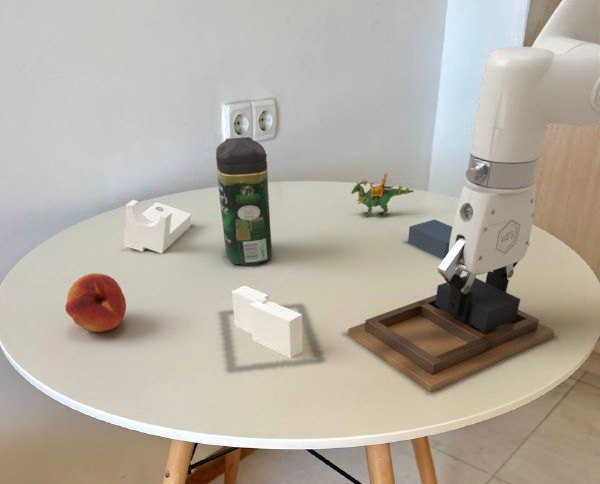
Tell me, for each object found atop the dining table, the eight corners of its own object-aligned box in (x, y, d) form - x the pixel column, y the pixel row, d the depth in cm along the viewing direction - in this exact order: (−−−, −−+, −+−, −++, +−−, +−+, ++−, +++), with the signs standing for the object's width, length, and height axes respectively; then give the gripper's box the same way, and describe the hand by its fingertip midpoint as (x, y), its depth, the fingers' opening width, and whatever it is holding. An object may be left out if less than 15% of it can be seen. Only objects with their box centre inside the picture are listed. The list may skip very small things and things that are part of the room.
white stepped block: (320, 360, 75) (321, 320, 71) (231, 370, 73) (227, 330, 70) (299, 305, 87) (298, 269, 83) (222, 313, 85) (218, 277, 82)
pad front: (407, 242, 105) (409, 226, 103) (432, 235, 108) (434, 219, 106) (443, 259, 99) (446, 242, 97) (469, 251, 102) (472, 234, 100)
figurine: (350, 212, 118) (351, 170, 113) (410, 212, 117) (415, 170, 112) (350, 218, 115) (352, 175, 110) (412, 218, 115) (416, 175, 110)
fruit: (69, 346, 79) (53, 291, 74) (75, 317, 85) (61, 265, 80) (130, 339, 80) (118, 285, 75) (131, 311, 86) (120, 259, 81)
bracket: (161, 258, 104) (165, 218, 99) (123, 245, 104) (126, 204, 99) (189, 231, 114) (194, 193, 109) (155, 219, 114) (158, 181, 109)
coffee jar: (223, 246, 105) (212, 135, 94) (267, 243, 106) (261, 132, 95) (227, 269, 97) (216, 150, 86) (275, 265, 98) (269, 147, 87)
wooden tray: (347, 335, 80) (348, 318, 78) (464, 292, 89) (466, 277, 88) (430, 392, 69) (432, 375, 68) (552, 337, 79) (557, 320, 77)
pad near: (434, 305, 81) (437, 285, 80) (465, 293, 84) (469, 274, 82) (484, 332, 75) (488, 311, 74) (515, 319, 78) (520, 298, 76)
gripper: (472, 193, 62) (448, 340, 73) (575, 166, 70) (540, 303, 81) (423, 176, 67) (408, 315, 78) (524, 152, 75) (497, 283, 86)
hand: (475, 308), depth 79 cm, fingers closed on pad near, 6 cm apart
